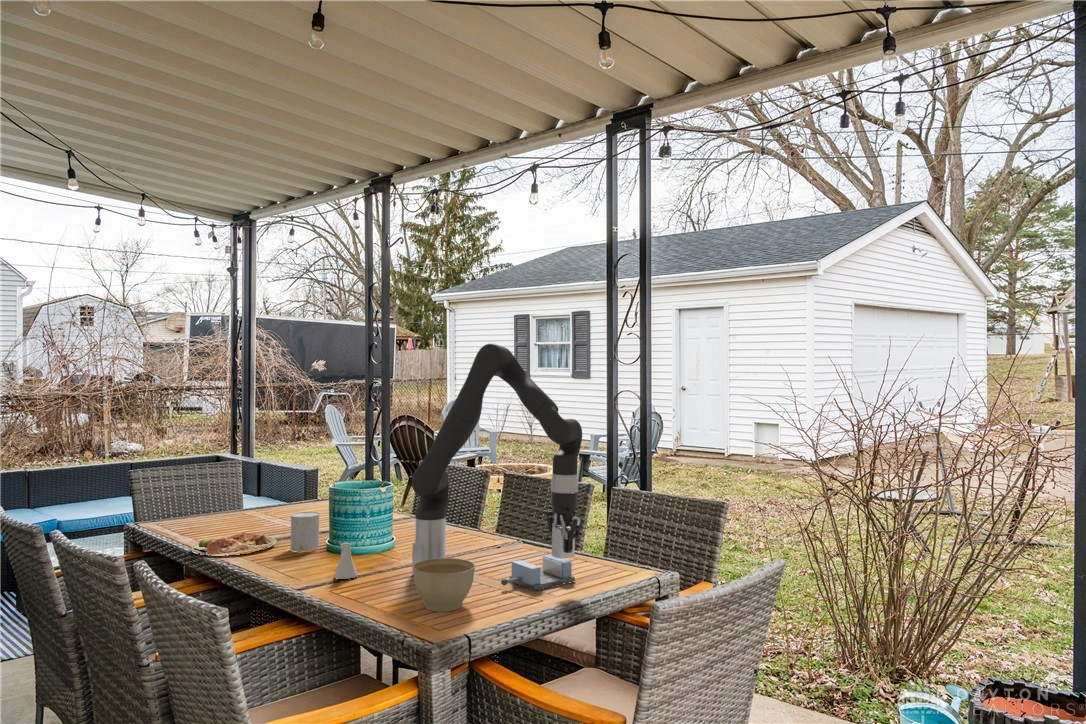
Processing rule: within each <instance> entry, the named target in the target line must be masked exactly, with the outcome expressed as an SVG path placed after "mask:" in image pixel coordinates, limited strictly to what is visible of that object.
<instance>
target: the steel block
mask: <svg viewBox="0 0 1086 724" xmlns="http://www.w3.org/2000/svg"><path fill="white" fill-rule="evenodd" d="M567 528H570V526H569V527H567ZM568 534H570V530H569V531H568ZM574 534H575V532H574ZM575 544H576V538H574V539H573V550H572V552H571V553H565V532H564V531H563V529H562V526H561V527H553V526H552V532H551V555H552V556H554V557H557V558H560V559H562V558H563V559H567V558H573V557H575V552H576V551H575V550H576V549H575V548H576V547H575Z"/></svg>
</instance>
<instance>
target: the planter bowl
mask: <svg viewBox="0 0 1086 724" xmlns="http://www.w3.org/2000/svg"><path fill="white" fill-rule="evenodd" d="M475 569H476V564H475V563H474V562H473V561H470V560H467V559H462V558H453V557H445V558H436V559H428V560H423V561H420V562H418V563H416V564H414V565H413V571H414V575H413V578H414V584H415V588H416V590H417V593H418V595H419V596H420V598H421V600H422V601H423V603H424V607H425V608H426V610H428V611H432V612H439V613H442V612H443V613H446V612H453V611H456V610H458V609H460V608H462V605H463V601H464V600H466V598H467V597H468V595H469V592H470V590H471V589H472V586H473V582H474V578H475V577H474V576H475Z"/></svg>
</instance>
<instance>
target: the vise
mask: <svg viewBox="0 0 1086 724" xmlns="http://www.w3.org/2000/svg"><path fill="white" fill-rule="evenodd" d="M509 579H513V577H512V575H511V576H509ZM573 581H575V582H576V577H575V576H574V575H572V561H571V560H569V559H567V558H562V559H560V558H557V557H554V556H552V554H547V555H542V569H541V582H540V583H538V584H534V585H531V584H528V583H526V582H523V581H516V582H512V583H513V584H515V585H517V586H519V585H520V587H522V588H524V587H525V589H527V588H528V589H527V590H529V589H531V590H530V591H532V590H533V592H535V590H537V591H540V590H539V589H542V590H544V589H543V588H546V589H549V588H548V587H551V588H553V587H552V586H556V585H560V584H563V583H569V582H573ZM569 584H570V583H569ZM560 586H561V585H560ZM556 587H557V586H556Z"/></svg>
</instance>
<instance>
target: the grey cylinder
mask: <svg viewBox="0 0 1086 724" xmlns="http://www.w3.org/2000/svg"><path fill="white" fill-rule="evenodd" d="M317 548H319V549H320V513H319V512H317V511H303V512H302V511H301V512H295V513H292V514H291V515H290V550H293V551H297V552H302V551H310V550H314V549H317Z"/></svg>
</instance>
